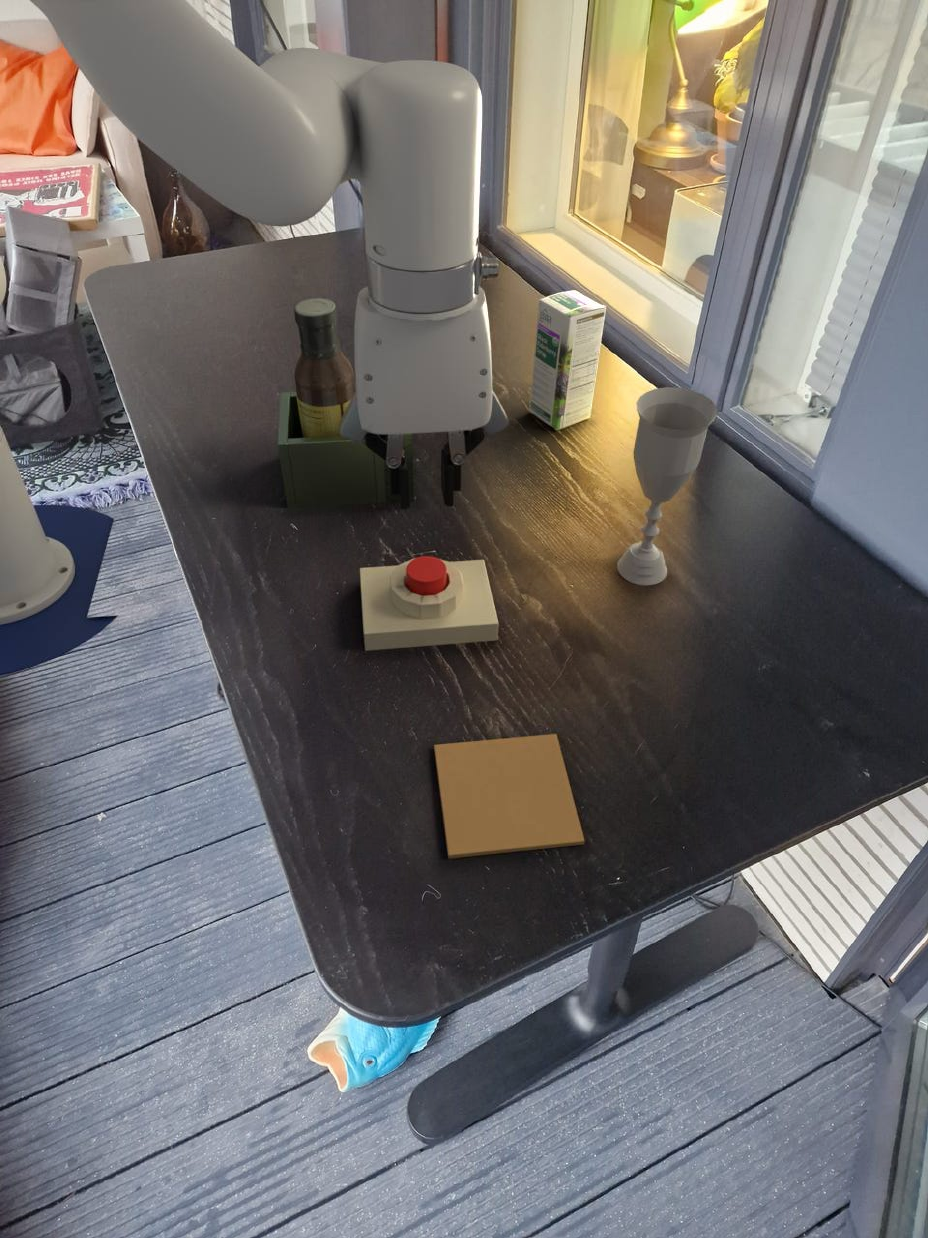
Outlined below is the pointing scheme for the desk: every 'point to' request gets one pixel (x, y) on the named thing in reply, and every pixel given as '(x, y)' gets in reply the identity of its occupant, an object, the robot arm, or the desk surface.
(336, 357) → the sauce bottle
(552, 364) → the syrup box
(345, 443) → the green open box holder
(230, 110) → the robot arm
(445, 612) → the control block
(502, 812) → the mat
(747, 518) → the desk surface
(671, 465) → the chalice
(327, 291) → the desk surface
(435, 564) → the button
